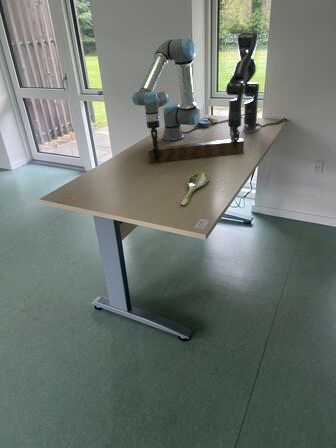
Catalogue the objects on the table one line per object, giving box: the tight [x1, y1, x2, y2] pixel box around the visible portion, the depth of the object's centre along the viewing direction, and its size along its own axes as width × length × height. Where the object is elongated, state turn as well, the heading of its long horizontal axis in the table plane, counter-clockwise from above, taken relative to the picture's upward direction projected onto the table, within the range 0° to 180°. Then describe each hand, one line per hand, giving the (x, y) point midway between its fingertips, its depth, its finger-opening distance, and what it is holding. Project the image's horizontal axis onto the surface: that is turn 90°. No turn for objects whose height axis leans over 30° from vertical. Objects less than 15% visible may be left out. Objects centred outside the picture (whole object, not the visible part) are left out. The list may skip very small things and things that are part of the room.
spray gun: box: [195, 115, 218, 128], centre depth 272 cm, size 21×4×15 cm
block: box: [147, 137, 245, 164], centre depth 209 cm, size 59×5×8 cm, turn 95°
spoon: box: [180, 171, 210, 207], centre depth 170 cm, size 35×11×2 cm, turn 159°
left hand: (156, 156), depth 208 cm, fingers open, 9 cm apart
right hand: (234, 145), depth 209 cm, fingers open, 6 cm apart
